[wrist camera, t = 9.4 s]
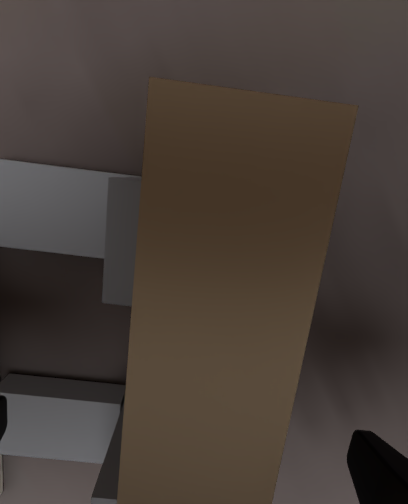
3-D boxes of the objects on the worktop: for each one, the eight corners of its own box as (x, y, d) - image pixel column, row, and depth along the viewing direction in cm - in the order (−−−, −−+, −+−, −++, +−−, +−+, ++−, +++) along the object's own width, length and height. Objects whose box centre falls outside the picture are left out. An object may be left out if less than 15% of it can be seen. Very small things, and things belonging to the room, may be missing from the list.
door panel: (196, 484, 14) (191, 870, 6) (151, 480, 14) (89, 865, 6) (244, 156, 11) (359, 105, 3) (186, 149, 11) (149, 77, 3)
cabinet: (271, 192, 12) (320, 203, 7) (217, 510, 16) (225, 660, 11) (-147, 139, 12) (-402, 112, 7) (-105, 482, 15) (-250, 628, 10)
